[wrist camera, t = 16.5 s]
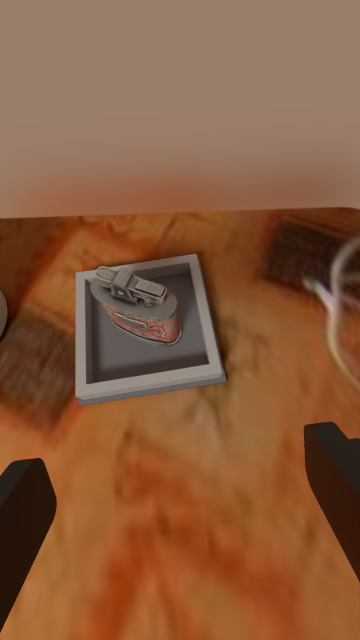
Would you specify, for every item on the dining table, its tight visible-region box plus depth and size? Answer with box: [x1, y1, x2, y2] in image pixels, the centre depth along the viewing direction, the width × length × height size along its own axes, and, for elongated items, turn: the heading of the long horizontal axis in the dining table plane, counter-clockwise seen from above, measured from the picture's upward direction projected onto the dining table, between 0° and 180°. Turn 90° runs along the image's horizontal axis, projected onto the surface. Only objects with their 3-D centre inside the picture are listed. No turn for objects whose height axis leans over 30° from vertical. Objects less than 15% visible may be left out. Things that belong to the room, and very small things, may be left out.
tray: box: [76, 254, 226, 406], centre depth 30 cm, size 15×15×2 cm
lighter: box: [90, 266, 181, 347], centre depth 26 cm, size 8×3×10 cm, turn 68°
